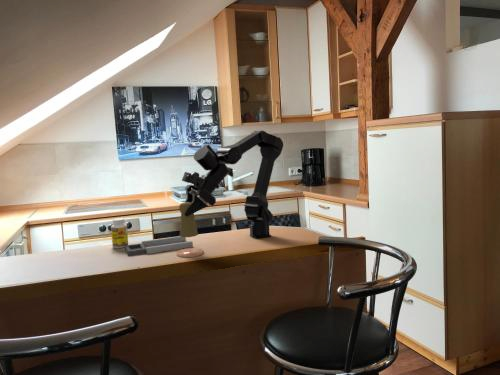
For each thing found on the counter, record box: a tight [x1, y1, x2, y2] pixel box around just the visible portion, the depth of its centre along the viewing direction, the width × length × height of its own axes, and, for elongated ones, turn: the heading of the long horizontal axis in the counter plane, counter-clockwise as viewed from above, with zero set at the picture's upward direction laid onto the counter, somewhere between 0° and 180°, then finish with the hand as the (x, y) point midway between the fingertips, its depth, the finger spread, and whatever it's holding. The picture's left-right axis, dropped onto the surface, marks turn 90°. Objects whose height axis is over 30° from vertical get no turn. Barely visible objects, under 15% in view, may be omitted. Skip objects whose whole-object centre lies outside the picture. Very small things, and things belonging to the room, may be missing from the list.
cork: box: [178, 201, 199, 238], centre depth 138 cm, size 6×6×11 cm
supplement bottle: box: [110, 217, 129, 249], centre depth 151 cm, size 6×6×10 cm
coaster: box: [176, 247, 205, 258], centre depth 139 cm, size 9×9×1 cm
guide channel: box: [141, 235, 194, 255], centre depth 149 cm, size 16×11×2 cm
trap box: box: [124, 242, 147, 257], centre depth 144 cm, size 6×9×2 cm, turn 23°
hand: (183, 214), depth 137 cm, fingers closed on cork, 5 cm apart
